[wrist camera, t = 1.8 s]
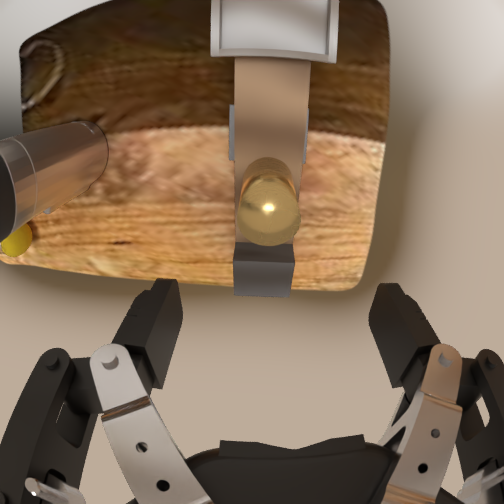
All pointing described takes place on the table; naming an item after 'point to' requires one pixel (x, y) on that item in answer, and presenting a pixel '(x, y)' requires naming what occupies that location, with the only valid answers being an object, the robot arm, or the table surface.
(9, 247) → the lemon
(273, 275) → the seesaw
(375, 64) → the table surface
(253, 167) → the brass weight
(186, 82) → the table surface
